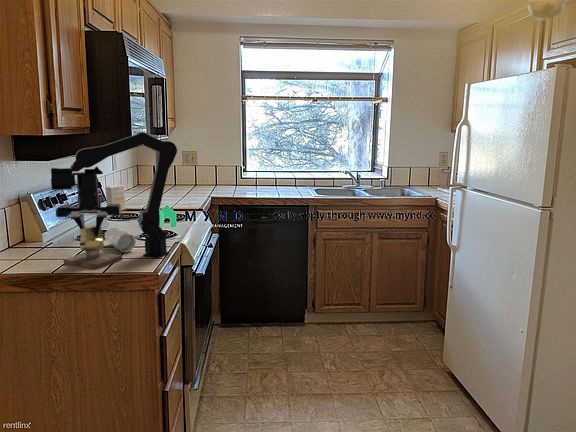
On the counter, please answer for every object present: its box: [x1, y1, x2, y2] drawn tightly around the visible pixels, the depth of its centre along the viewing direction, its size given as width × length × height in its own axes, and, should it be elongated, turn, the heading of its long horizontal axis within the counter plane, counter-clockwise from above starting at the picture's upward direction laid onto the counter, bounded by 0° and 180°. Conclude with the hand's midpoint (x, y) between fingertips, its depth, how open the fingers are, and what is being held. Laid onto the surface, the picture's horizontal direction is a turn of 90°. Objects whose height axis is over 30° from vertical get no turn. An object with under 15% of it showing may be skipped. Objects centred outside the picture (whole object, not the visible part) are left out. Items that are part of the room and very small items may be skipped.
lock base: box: [62, 249, 123, 270], centre depth 150 cm, size 14×11×4 cm
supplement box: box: [105, 184, 127, 212], centre depth 240 cm, size 8×5×13 cm, turn 149°
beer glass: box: [104, 227, 137, 253], centre depth 168 cm, size 7×7×15 cm
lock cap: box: [79, 224, 105, 252], centre depth 149 cm, size 8×7×7 cm
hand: (91, 236), depth 149 cm, fingers closed on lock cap, 3 cm apart
